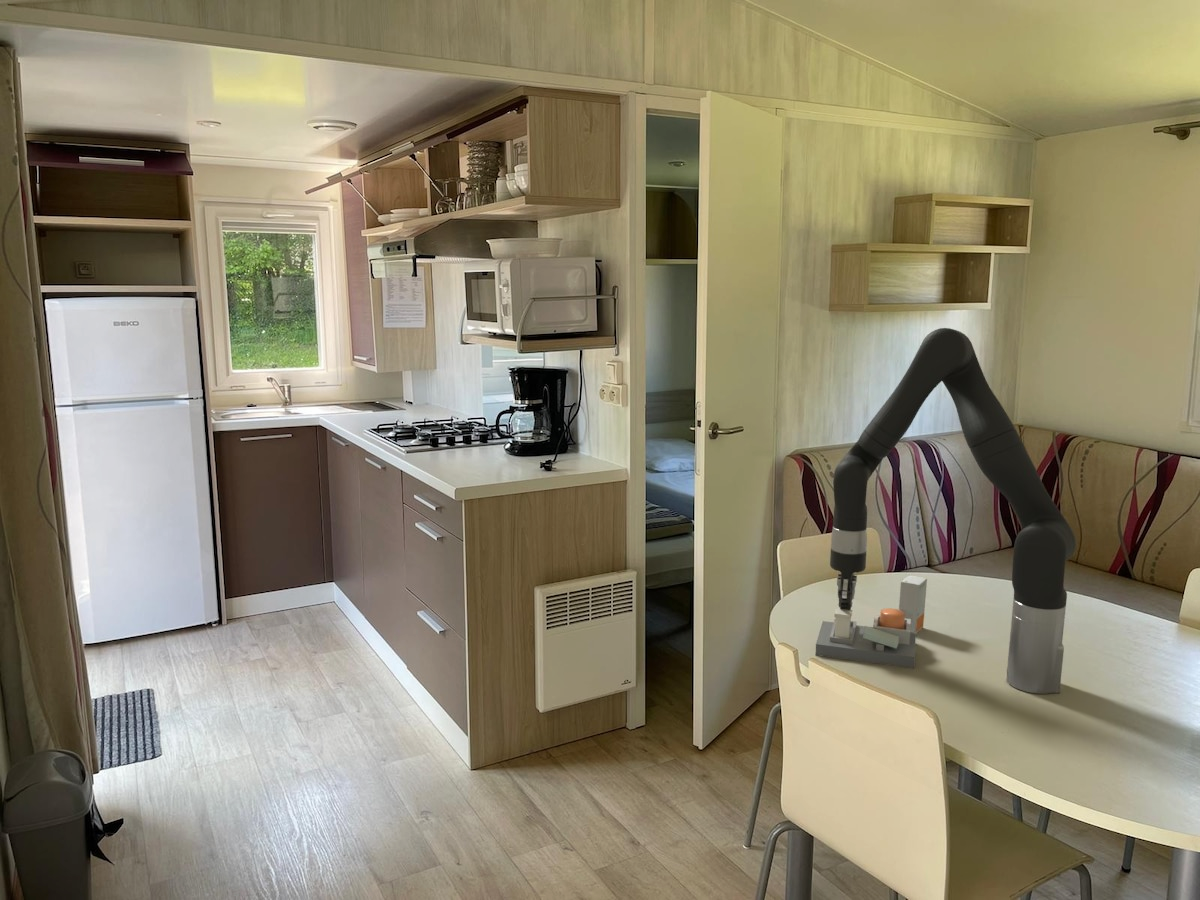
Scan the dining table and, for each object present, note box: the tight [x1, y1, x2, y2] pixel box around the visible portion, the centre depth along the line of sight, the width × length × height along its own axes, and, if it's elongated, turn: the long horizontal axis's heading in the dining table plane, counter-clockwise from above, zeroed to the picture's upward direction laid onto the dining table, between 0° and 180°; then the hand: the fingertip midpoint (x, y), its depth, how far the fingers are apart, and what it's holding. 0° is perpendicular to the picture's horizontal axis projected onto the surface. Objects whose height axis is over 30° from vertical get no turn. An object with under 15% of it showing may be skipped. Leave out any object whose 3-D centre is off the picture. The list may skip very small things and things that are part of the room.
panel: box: [815, 614, 917, 669], centre depth 194 cm, size 20×14×6 cm
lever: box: [834, 608, 853, 638], centre depth 193 cm, size 3×3×6 cm
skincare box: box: [898, 575, 928, 634], centre depth 204 cm, size 6×4×12 cm
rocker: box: [863, 625, 899, 649], centre depth 189 cm, size 7×4×1 cm, turn 71°
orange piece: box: [880, 607, 905, 629], centre depth 194 cm, size 5×5×5 cm
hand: (844, 622), depth 197 cm, fingers closed
